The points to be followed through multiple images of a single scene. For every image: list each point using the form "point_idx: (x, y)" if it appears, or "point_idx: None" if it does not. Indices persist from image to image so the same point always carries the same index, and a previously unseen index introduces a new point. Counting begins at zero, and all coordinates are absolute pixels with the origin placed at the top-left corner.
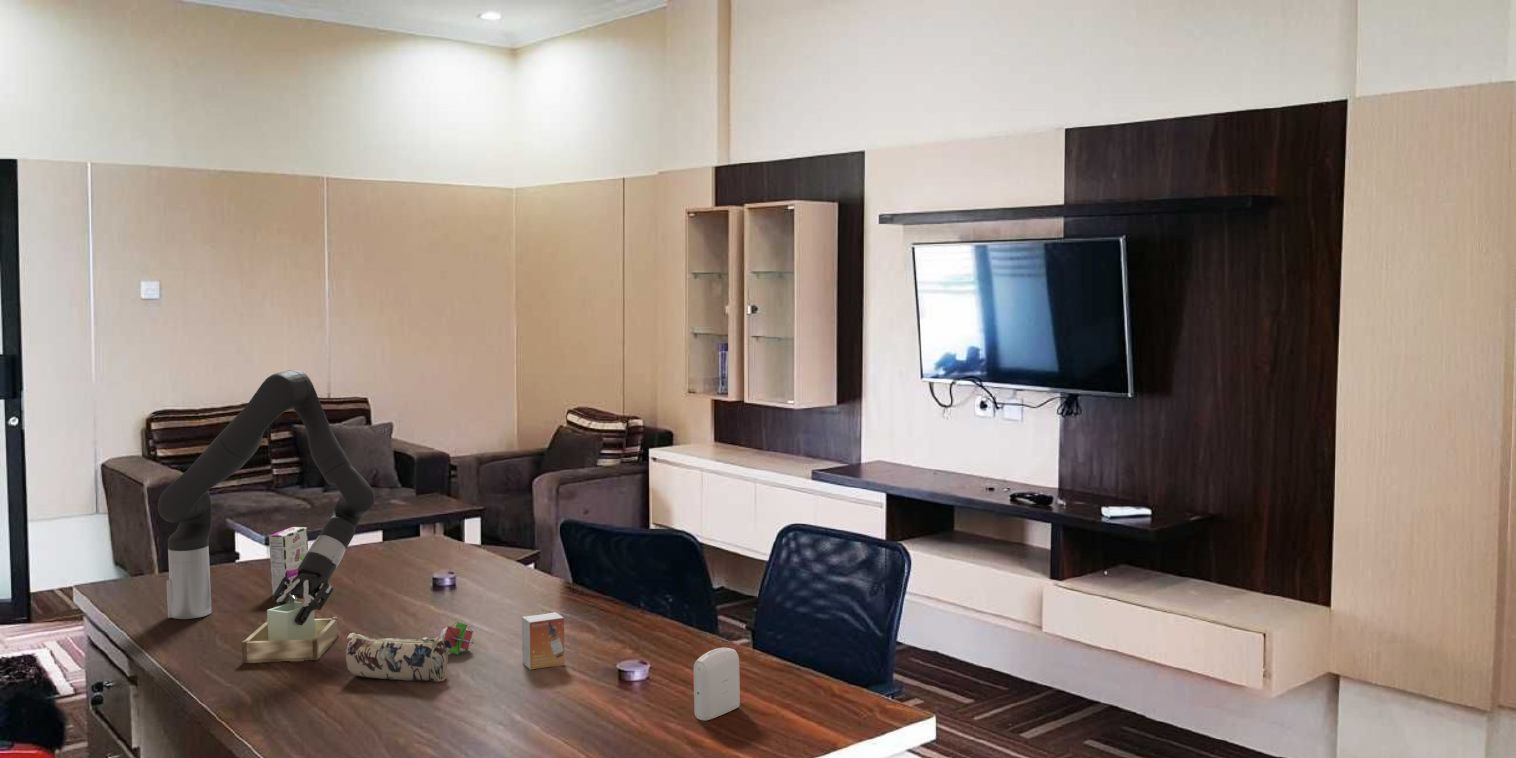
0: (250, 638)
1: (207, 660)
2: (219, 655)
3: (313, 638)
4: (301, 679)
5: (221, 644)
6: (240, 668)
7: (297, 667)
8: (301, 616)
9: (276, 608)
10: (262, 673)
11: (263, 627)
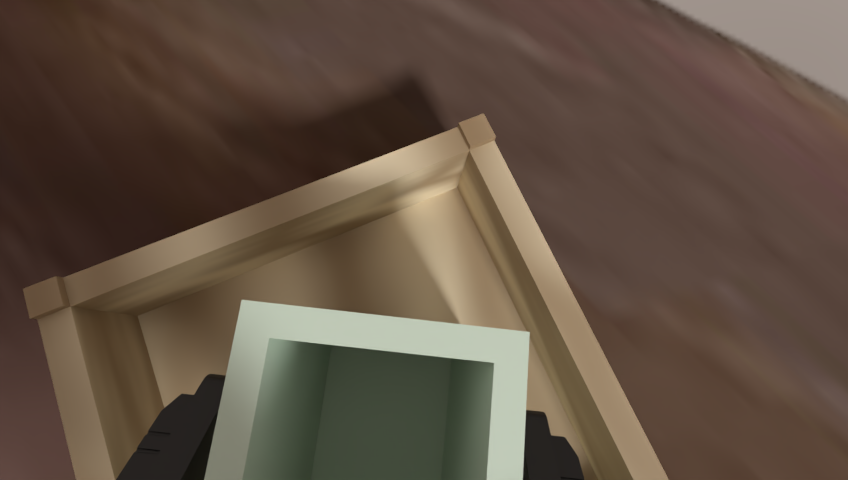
0: (501, 202)
1: (651, 156)
2: (664, 231)
3: (58, 297)
4: (47, 57)
5: (817, 389)
6: (419, 106)
7: (163, 186)
8: (172, 426)
9: (489, 433)
10: (274, 77)
11: (621, 451)
